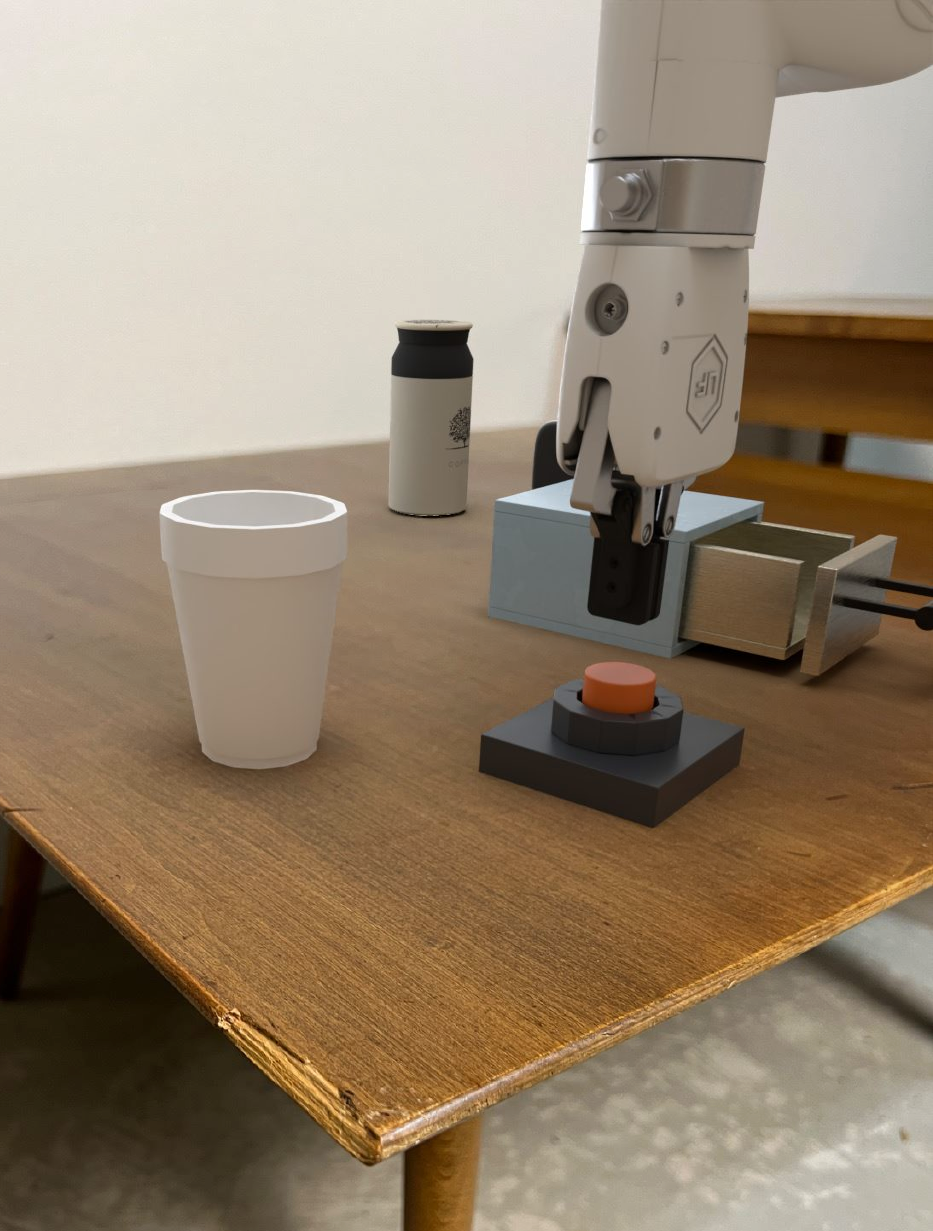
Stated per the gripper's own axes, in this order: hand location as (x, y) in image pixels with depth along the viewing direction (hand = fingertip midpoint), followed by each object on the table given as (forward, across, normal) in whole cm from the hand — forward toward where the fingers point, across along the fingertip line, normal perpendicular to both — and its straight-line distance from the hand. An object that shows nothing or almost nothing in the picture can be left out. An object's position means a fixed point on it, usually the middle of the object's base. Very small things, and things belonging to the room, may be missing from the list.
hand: (622, 616), depth 60 cm
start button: (+5, 0, 0) cm, 5 cm away
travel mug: (+8, +46, +46) cm, 66 cm away
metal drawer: (+7, +25, 0) cm, 26 cm away
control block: (+8, 0, 0) cm, 8 cm away
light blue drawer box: (+8, +25, +13) cm, 30 cm away
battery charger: (+8, +40, +26) cm, 49 cm away
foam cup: (+9, -10, +16) cm, 21 cm away
